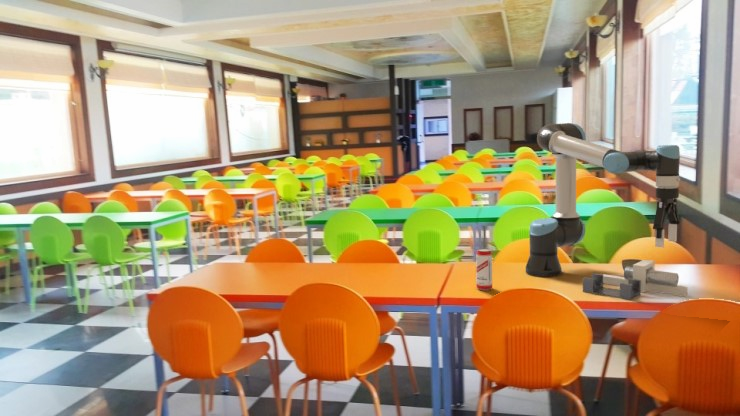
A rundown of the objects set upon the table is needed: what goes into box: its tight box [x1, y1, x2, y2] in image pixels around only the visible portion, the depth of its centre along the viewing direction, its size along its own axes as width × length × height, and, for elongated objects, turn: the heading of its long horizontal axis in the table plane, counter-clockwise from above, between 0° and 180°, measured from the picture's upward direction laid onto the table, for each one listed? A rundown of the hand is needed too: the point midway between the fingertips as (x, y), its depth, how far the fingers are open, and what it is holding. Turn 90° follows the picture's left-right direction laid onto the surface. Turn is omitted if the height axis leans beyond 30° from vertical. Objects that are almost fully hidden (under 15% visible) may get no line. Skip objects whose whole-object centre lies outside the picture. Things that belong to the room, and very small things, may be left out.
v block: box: [582, 272, 641, 301], centre depth 212 cm, size 18×9×6 cm, turn 44°
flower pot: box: [621, 258, 643, 271], centre depth 231 cm, size 10×10×7 cm
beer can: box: [475, 248, 493, 291], centre depth 224 cm, size 6×6×16 cm
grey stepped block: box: [603, 259, 689, 297], centre depth 216 cm, size 31×11×10 cm, turn 44°
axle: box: [623, 267, 680, 287], centre depth 213 cm, size 18×5×5 cm, turn 44°
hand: (666, 244), depth 209 cm, fingers open, 13 cm apart
